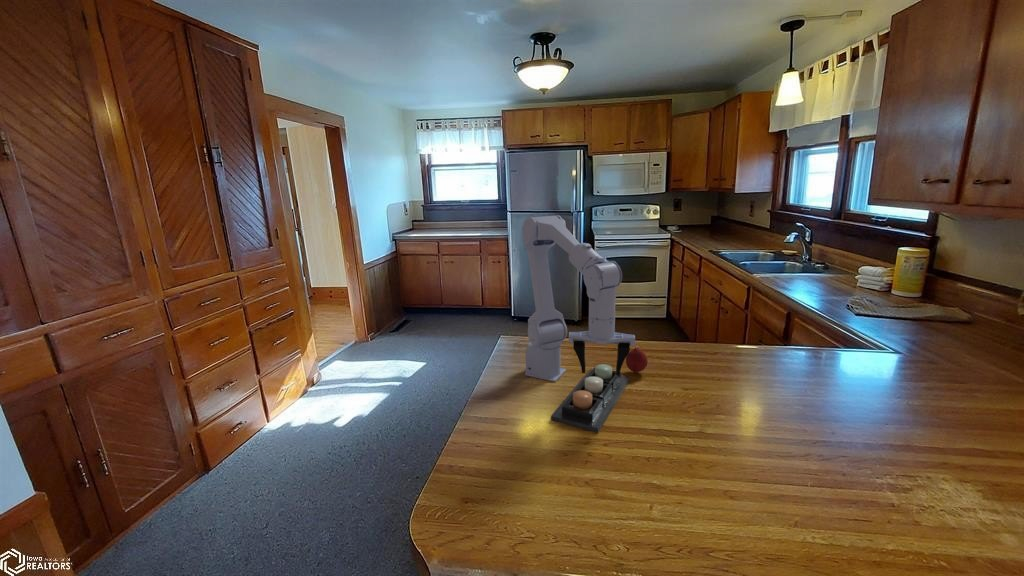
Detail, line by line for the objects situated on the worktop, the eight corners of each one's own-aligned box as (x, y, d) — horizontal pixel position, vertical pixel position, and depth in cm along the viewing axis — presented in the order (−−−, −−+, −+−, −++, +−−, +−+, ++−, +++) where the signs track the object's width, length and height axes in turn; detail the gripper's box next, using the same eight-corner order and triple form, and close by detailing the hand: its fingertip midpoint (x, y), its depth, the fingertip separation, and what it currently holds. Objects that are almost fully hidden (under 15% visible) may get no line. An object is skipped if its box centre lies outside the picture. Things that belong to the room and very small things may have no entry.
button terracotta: (570, 407, 94) (570, 397, 93) (576, 398, 98) (576, 388, 97) (588, 411, 92) (588, 401, 91) (594, 402, 95) (594, 392, 95)
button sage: (592, 378, 107) (592, 369, 107) (597, 371, 111) (598, 363, 110) (609, 381, 105) (609, 372, 105) (614, 374, 109) (614, 366, 108)
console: (550, 420, 93) (550, 408, 92) (590, 373, 116) (590, 363, 115) (598, 433, 88) (598, 420, 87) (629, 380, 111) (629, 370, 110)
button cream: (582, 391, 101) (582, 382, 100) (588, 384, 104) (588, 375, 104) (599, 395, 98) (599, 386, 98) (605, 387, 102) (605, 378, 102)
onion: (648, 378, 112) (649, 350, 110) (626, 377, 113) (627, 349, 111) (645, 369, 117) (646, 342, 115) (624, 368, 118) (625, 342, 116)
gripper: (567, 320, 89) (567, 378, 93) (637, 323, 86) (634, 382, 89) (570, 311, 96) (569, 364, 99) (634, 313, 93) (632, 368, 96)
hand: (600, 372), depth 95 cm, fingers open, 7 cm apart
